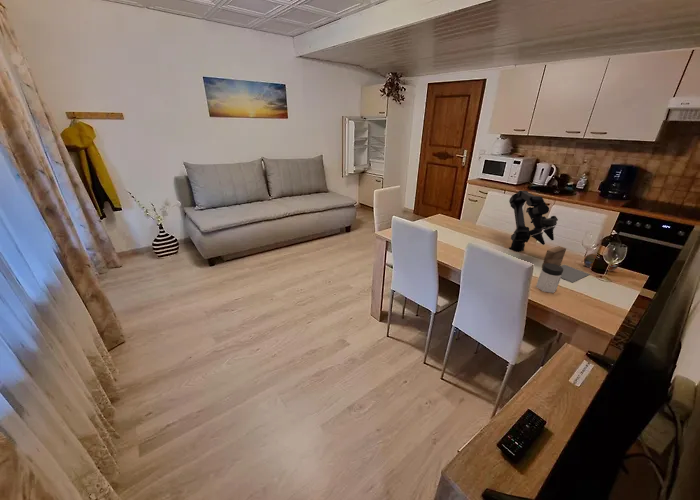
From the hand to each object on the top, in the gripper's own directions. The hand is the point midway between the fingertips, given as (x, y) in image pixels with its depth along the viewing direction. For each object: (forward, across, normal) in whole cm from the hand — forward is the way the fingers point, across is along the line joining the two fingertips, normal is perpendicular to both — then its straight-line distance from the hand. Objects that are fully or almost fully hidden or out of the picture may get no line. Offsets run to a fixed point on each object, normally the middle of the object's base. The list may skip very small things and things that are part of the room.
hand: (548, 242), depth 167 cm
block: (+13, -2, +4) cm, 14 cm away
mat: (+19, -2, -4) cm, 19 cm away
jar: (+18, -29, -7) cm, 35 cm away
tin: (+24, +19, -7) cm, 32 cm away
